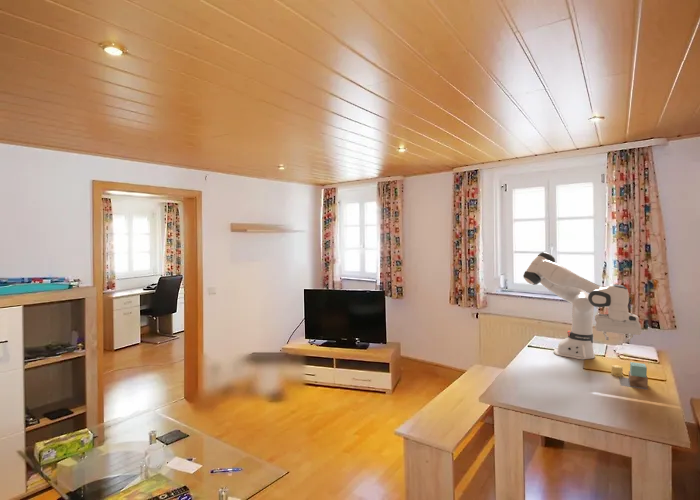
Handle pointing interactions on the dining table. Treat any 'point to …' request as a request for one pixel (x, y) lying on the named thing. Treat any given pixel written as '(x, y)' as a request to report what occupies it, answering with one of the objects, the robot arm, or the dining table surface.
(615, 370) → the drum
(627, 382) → the slate board
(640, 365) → the block top
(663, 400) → the dining table surface
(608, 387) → the dining table surface
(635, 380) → the block base
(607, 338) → the robot arm
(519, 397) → the dining table surface
